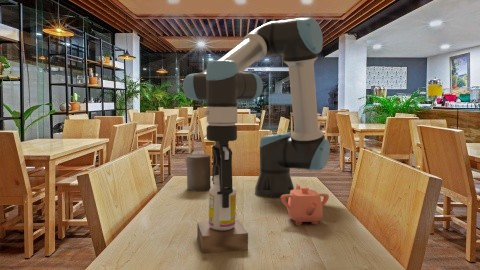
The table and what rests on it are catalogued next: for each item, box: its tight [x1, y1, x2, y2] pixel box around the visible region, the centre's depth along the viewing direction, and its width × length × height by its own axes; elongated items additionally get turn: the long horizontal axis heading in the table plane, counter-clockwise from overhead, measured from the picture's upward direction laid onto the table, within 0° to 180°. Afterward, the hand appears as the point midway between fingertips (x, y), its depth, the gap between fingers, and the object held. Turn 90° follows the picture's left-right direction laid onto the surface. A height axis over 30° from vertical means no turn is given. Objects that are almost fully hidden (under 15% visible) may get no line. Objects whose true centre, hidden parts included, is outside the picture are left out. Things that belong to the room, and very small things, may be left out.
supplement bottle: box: [208, 175, 237, 231], centre depth 99 cm, size 7×7×13 cm
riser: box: [196, 219, 249, 254], centre depth 100 cm, size 11×11×4 cm
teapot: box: [280, 183, 330, 226], centre depth 118 cm, size 14×12×10 cm
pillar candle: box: [186, 152, 212, 192], centre depth 161 cm, size 10×10×15 cm
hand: (221, 215), depth 99 cm, fingers open, 8 cm apart
